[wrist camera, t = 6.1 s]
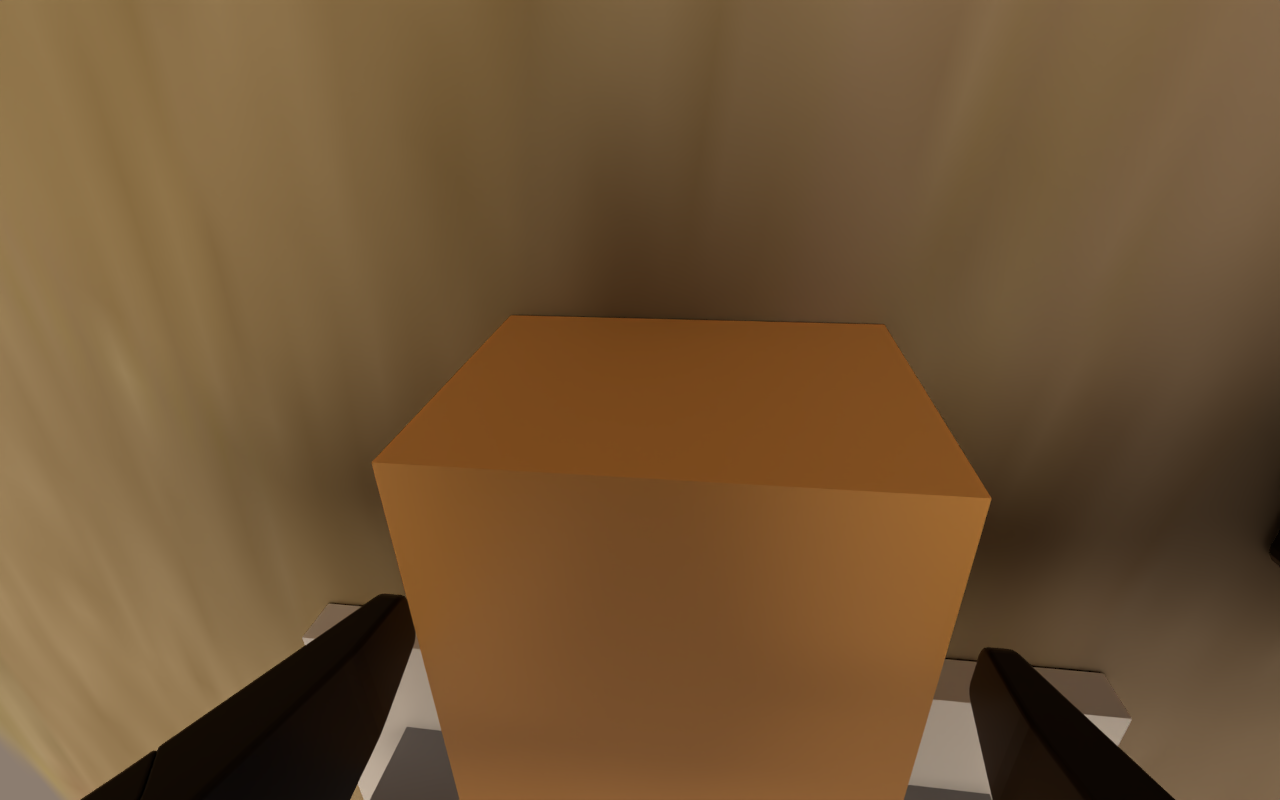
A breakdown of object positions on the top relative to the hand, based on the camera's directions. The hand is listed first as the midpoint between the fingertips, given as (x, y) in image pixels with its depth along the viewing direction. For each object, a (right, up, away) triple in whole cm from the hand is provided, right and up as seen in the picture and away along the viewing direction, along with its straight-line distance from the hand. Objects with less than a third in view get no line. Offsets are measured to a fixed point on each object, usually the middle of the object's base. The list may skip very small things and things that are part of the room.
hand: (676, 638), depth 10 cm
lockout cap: (+1, +2, +4) cm, 5 cm away
